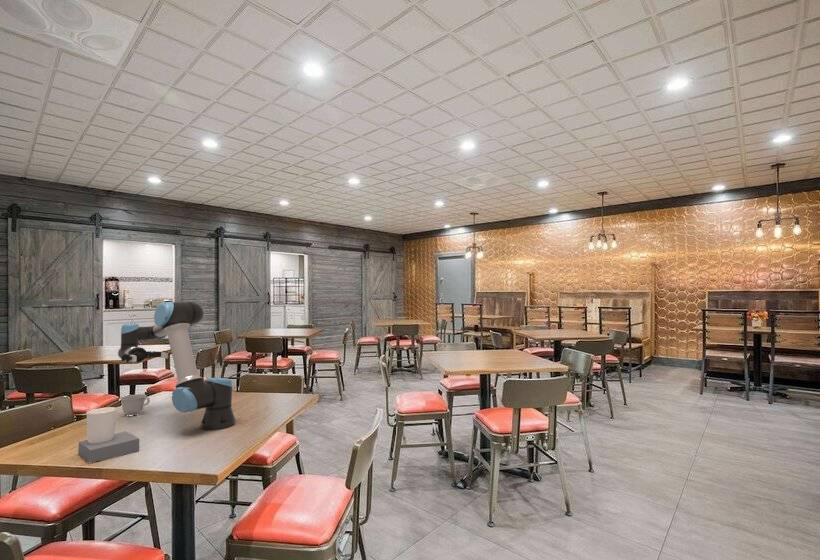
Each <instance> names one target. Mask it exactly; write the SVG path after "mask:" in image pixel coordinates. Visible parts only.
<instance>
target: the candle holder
mask: <svg viewBox="0 0 820 560" xmlns="http://www.w3.org/2000/svg"><path fill="white" fill-rule="evenodd" d="M117 410H118V409H117V407H114V406H113V407H112V406H111V407H99V408H95V409H91V410H88V411H86V438H87V439H86V440H87V442H88V443H89V444H98V443H104V442H107V441H110V440H112V439H113V438H114V434H115V429H116V419H117V412H118V411H117Z"/></svg>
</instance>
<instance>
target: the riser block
mask: <svg viewBox="0 0 820 560" xmlns="http://www.w3.org/2000/svg"><path fill="white" fill-rule="evenodd" d="M77 450H78V453H77V455H78V454H79V455H78V456H80V457H81V456H82V457H83V458H84V459H83V458H82V457H81V458H82V459H83V460H84V461H86V460H87V461H88V462H90V463H91V462H95V463H97V462H96V461H99V462H101V461H100V460H103V461H106V460H105V459H107V460H110V459H109V458H111V459H113V457H114V458H119V457H122V456H126V455H129V454H133V453H137V452H139V451H140V437H137V436H136V435H134V434H132V433H130V432H128V431H121V432H116V433H114V438H113V439H112V440H110V441H107V442H104V443H98V444H89V443H88V442H87V439H84V440H80V441H78V449H77ZM87 461H86V462H87ZM88 462H87V463H88ZM90 463H89V464H90ZM91 464H92V463H91Z"/></svg>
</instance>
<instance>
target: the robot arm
mask: <svg viewBox="0 0 820 560" xmlns="http://www.w3.org/2000/svg"><path fill="white" fill-rule="evenodd" d="M204 315H205V311H204V309H203V307H202V306H201V305H200V304H199V303H196V302H193V301H164V302H161V303H160V304H158V306H157V307H156V308H155V311H154V315H153V320H154V324H155V325H152V326H150V325H149V326H139V324H138V323H124V324H122V326H121V328H120V348H119V349H118V350H117V356H118V358H119V359H121V362H126V363H130V362H132V363H141V362H143V361H144V360H146V359H151V358H162V359H169V351H165V350H162V351H151V350H150V351H146V349H144V347H139V342H140V341H151V340H153V341H156V340H163V339H165V338H166V337H167V338H168V342H169V347H170V351H171V355H172V356H171V357H172V360H173V364H174V369H175V375H176V377H177V382H176V384H175V386H174V387H175V389H174V390H172V393H171V394H172V395H171V401H172V404H173V406H174V408H175V409H176V411H178V412H181V413H188V412H194V411H197V410H200V409H205V411H204V414H203V417H202V420H201V422H200V428H201V430H202V429H203V430H209V431H210V430H212V431H213V430H221V429H225V428H226V427H227V428H230V427H232V426H234V425H235V423H236V417H235V414H234V412H233V409H232V400H233V399H232V395H233V394H232V393H233V391H232V390H233V383H232V379H230V378H227V377H226V378H225V377H208V378H206V379H205V381H204V377H202V376H200V375H199V373H198V369H197V365H196V360H195V356H194V351H193V347H192V344H191V339H190V334H189V331H188V329H189V328H190V327H192V326H195V325H197V324H199V323H201V321H203V319H204ZM229 426H230V427H229ZM227 428H226V429H227Z"/></svg>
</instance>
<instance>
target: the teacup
mask: <svg viewBox="0 0 820 560" xmlns="http://www.w3.org/2000/svg"><path fill="white" fill-rule="evenodd" d="M119 399H120V400H121V401H120V402H121V406H122V413H124V414H126V415H128V416H127V417H130V416H129V415H136V416H138V415H137V414H139V415H140V412H141V411H143V409H144V407H145V406H147V405H149V404H150V403H151V399H150V397H149V396H147V394H146V393H145V394H143V393H139V394H129V395H124V396H121V397H120V398H119ZM146 400H147V401H146ZM145 401H146V403H145Z"/></svg>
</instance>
